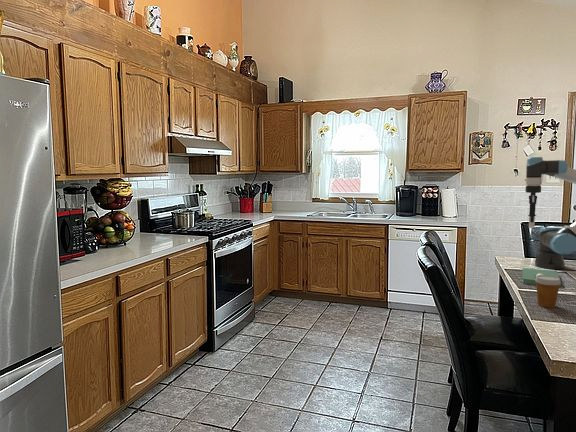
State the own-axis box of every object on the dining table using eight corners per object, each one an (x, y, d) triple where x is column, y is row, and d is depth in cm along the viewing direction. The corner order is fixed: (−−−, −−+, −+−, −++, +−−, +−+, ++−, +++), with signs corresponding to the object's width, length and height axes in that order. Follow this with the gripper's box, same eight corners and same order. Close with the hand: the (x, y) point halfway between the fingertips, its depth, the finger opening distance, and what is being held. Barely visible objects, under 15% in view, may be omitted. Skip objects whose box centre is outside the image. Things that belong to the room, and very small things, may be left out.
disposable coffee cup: (563, 309, 179) (565, 280, 178) (538, 308, 181) (539, 280, 180) (554, 302, 188) (555, 275, 187) (530, 301, 190) (531, 274, 189)
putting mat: (522, 272, 241) (522, 268, 241) (556, 275, 234) (556, 270, 234) (523, 283, 218) (523, 278, 218) (560, 287, 211) (561, 282, 211)
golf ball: (538, 280, 224) (539, 273, 224) (546, 281, 220) (546, 274, 220) (533, 280, 222) (534, 272, 222) (541, 281, 219) (541, 273, 219)
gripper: (525, 184, 247) (523, 226, 250) (526, 185, 235) (524, 229, 238) (540, 184, 244) (538, 226, 246) (542, 185, 232) (539, 229, 235)
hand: (531, 227), depth 242 cm, fingers closed
